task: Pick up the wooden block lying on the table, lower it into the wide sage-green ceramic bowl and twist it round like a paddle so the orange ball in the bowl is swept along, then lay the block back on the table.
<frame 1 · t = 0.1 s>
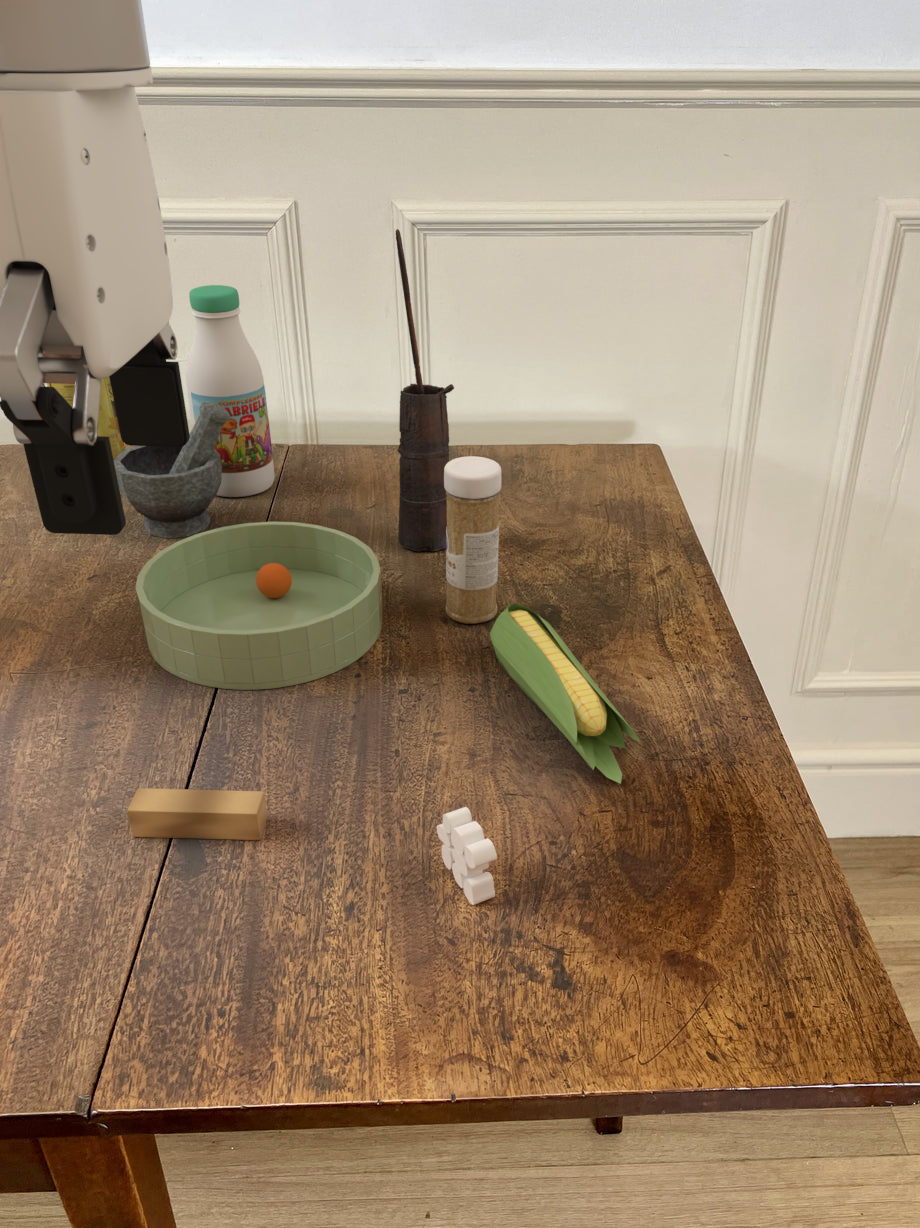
hand: (124, 483, 47), 26 cm above the table, tool pointing down, fingers open, 9 cm apart
wooden block: (201, 827, 66), on the table
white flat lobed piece: (466, 881, 63), on the table
butter churn: (436, 541, 101), on the table
mortar and pestle: (185, 525, 102), on the table
spice jar: (471, 615, 89), on the table
edible corn: (557, 711, 78), on the table
sauce bottle: (98, 471, 113), on the table
ball: (273, 580, 89), point 2 cm above the table, touching bowl
bowl: (266, 625, 87), on the table
milk bottle: (238, 486, 111), on the table
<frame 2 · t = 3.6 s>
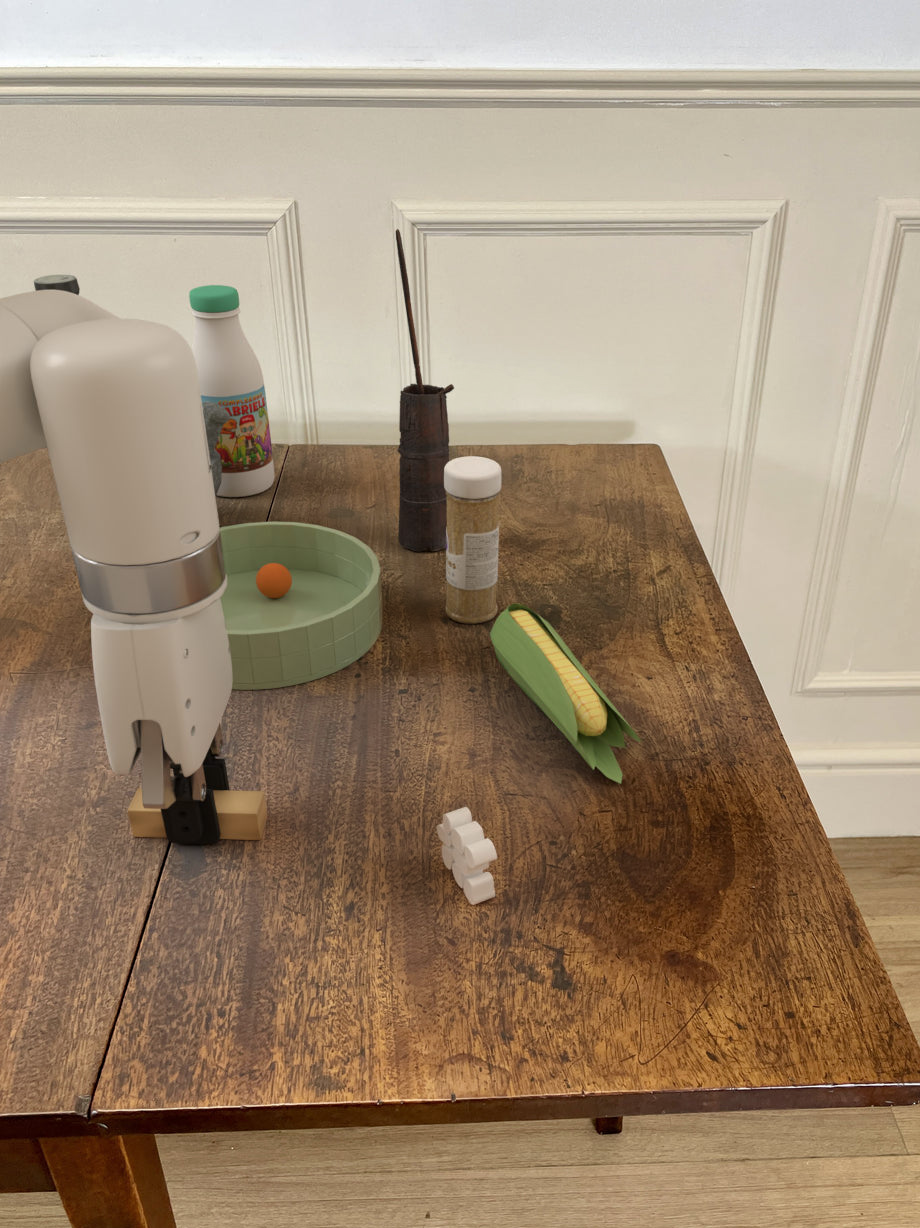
hand: (200, 822, 66), 0 cm above the table, tool pointing down, fingers closed on wooden block, 2 cm apart
wooden block: (201, 827, 66), on the table, touching gripper
everything else where it was.
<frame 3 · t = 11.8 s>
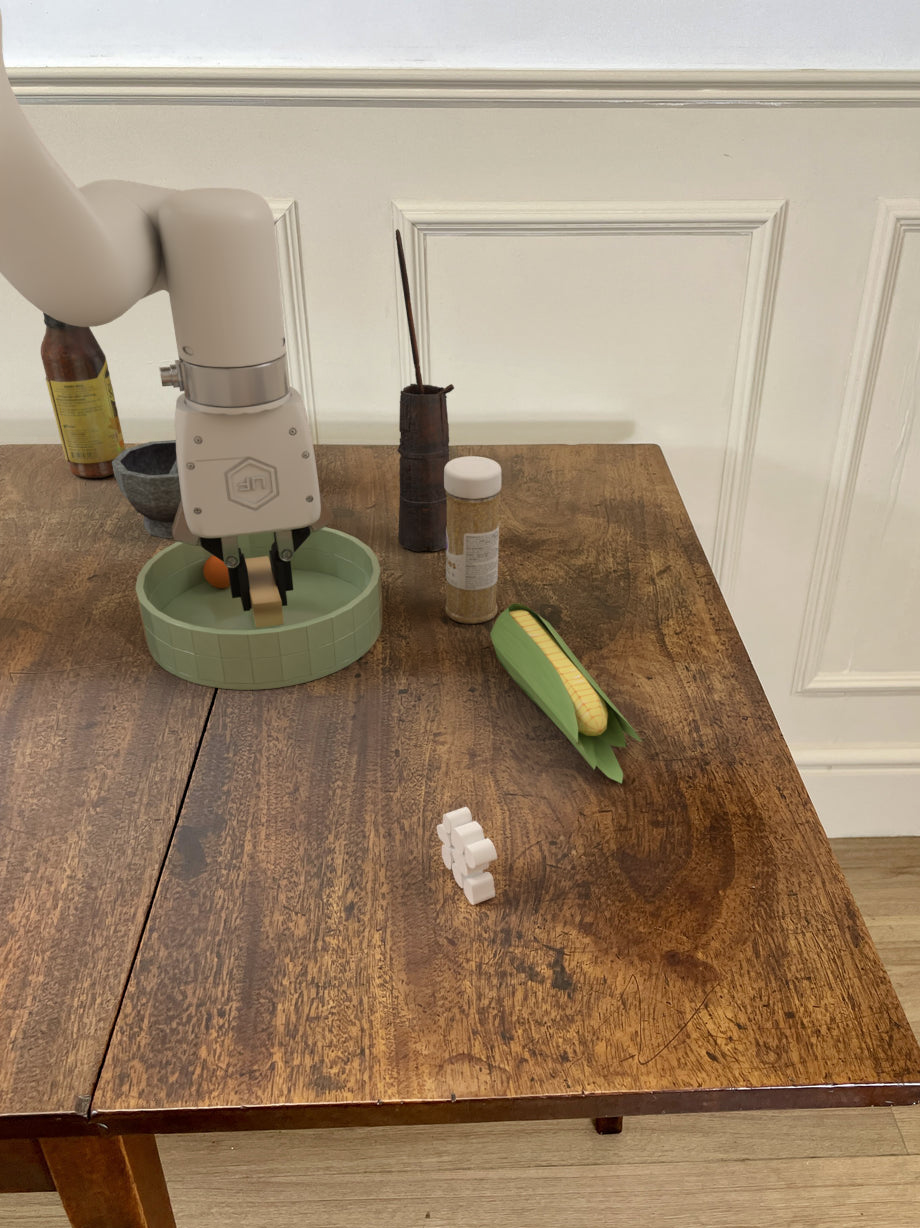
hand: (263, 599, 85), 3 cm above the table, tool pointing down, fingers closed on wooden block, 2 cm apart
wooden block: (263, 602, 85), point 2 cm above the table, touching gripper
ball: (221, 570, 90), point 2 cm above the table, tilted 159°, touching bowl
everything else where it was.
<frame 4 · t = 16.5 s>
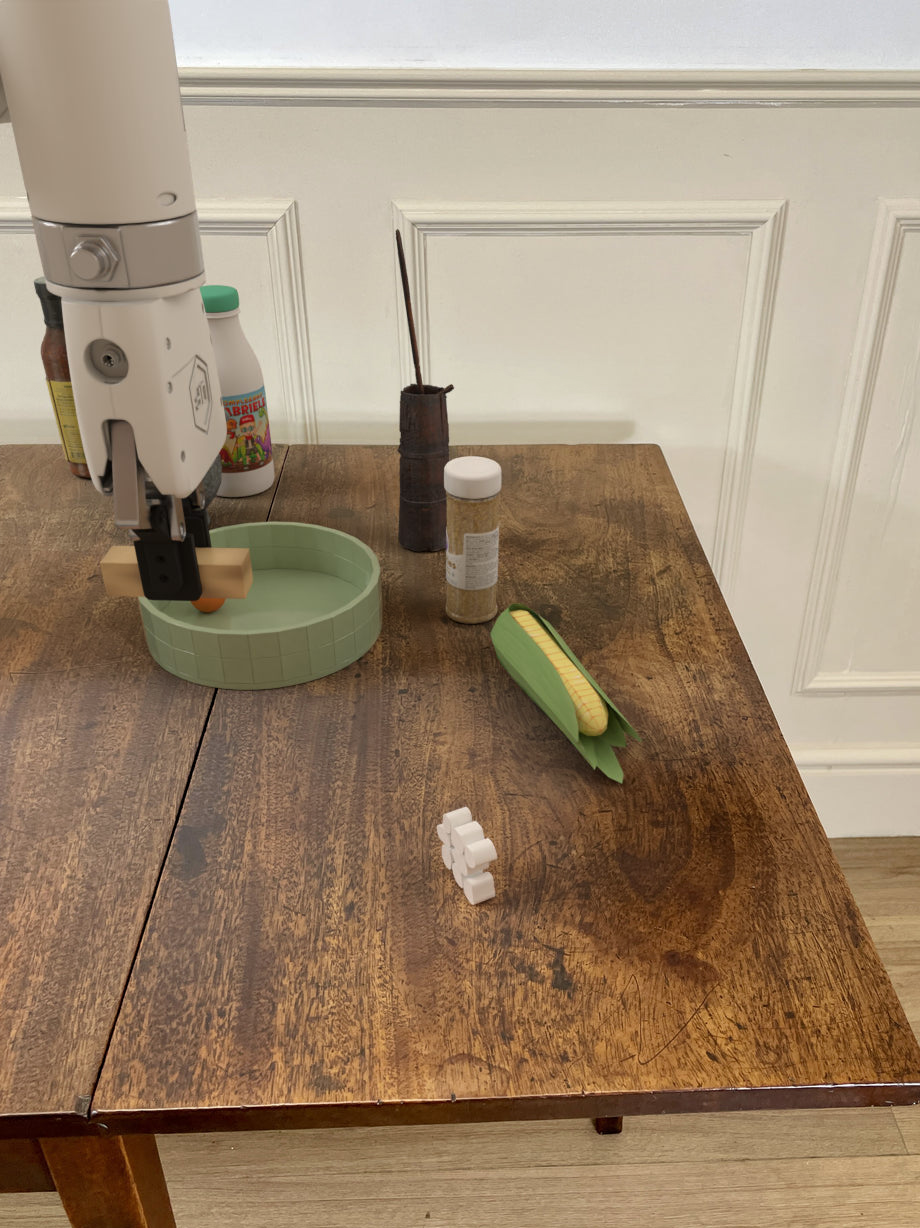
hand: (180, 583, 61), 15 cm above the table, tool pointing down, fingers closed on wooden block
wooden block: (181, 588, 61), point 15 cm above the table, touching gripper
ball: (207, 594, 87), point 2 cm above the table, tilted 20°, touching bowl
everything else where it was.
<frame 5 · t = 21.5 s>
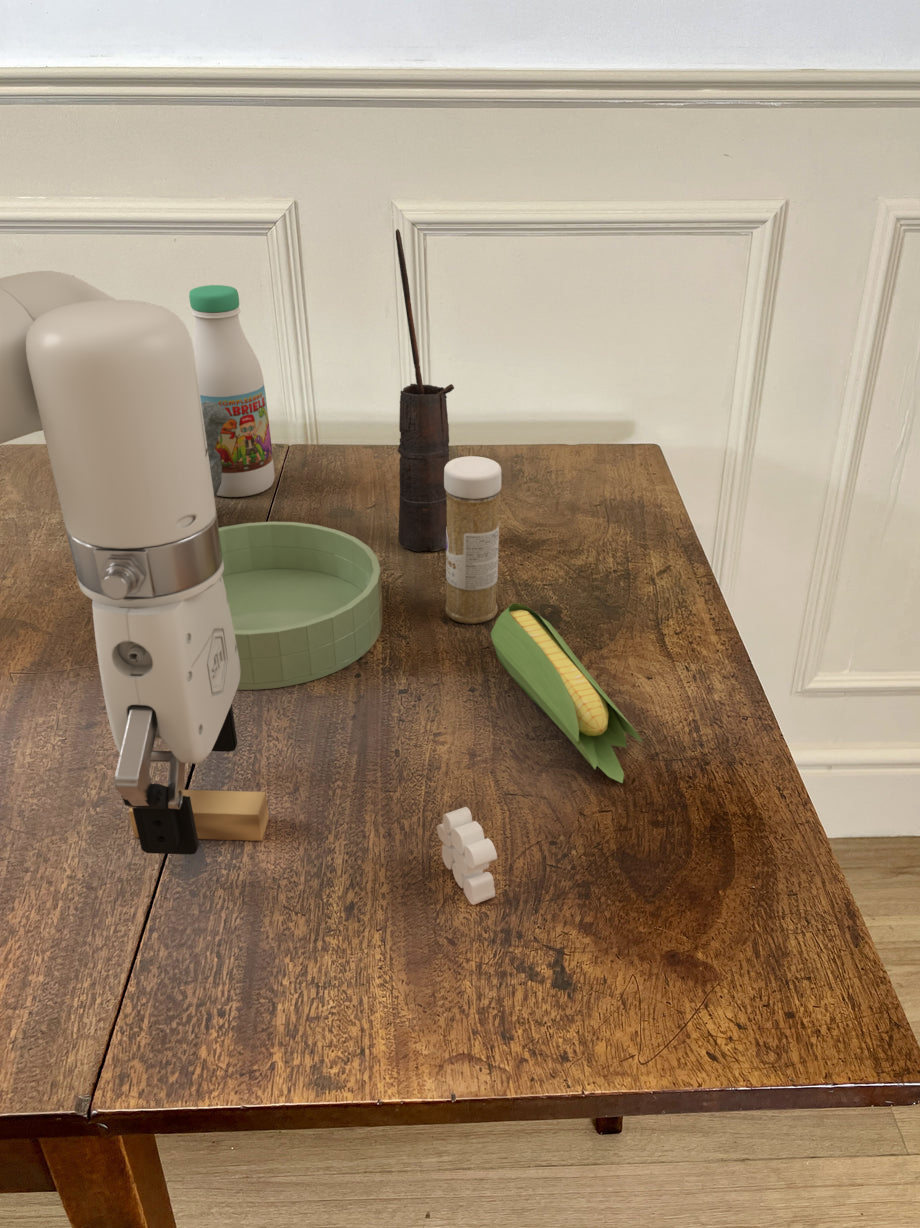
hand: (193, 796, 65), 2 cm above the table, tool pointing down, fingers open, 9 cm apart
wooden block: (202, 827, 66), on the table
ball: (191, 621, 83), point 2 cm above the table, tilted 154°, touching bowl
everything else where it was.
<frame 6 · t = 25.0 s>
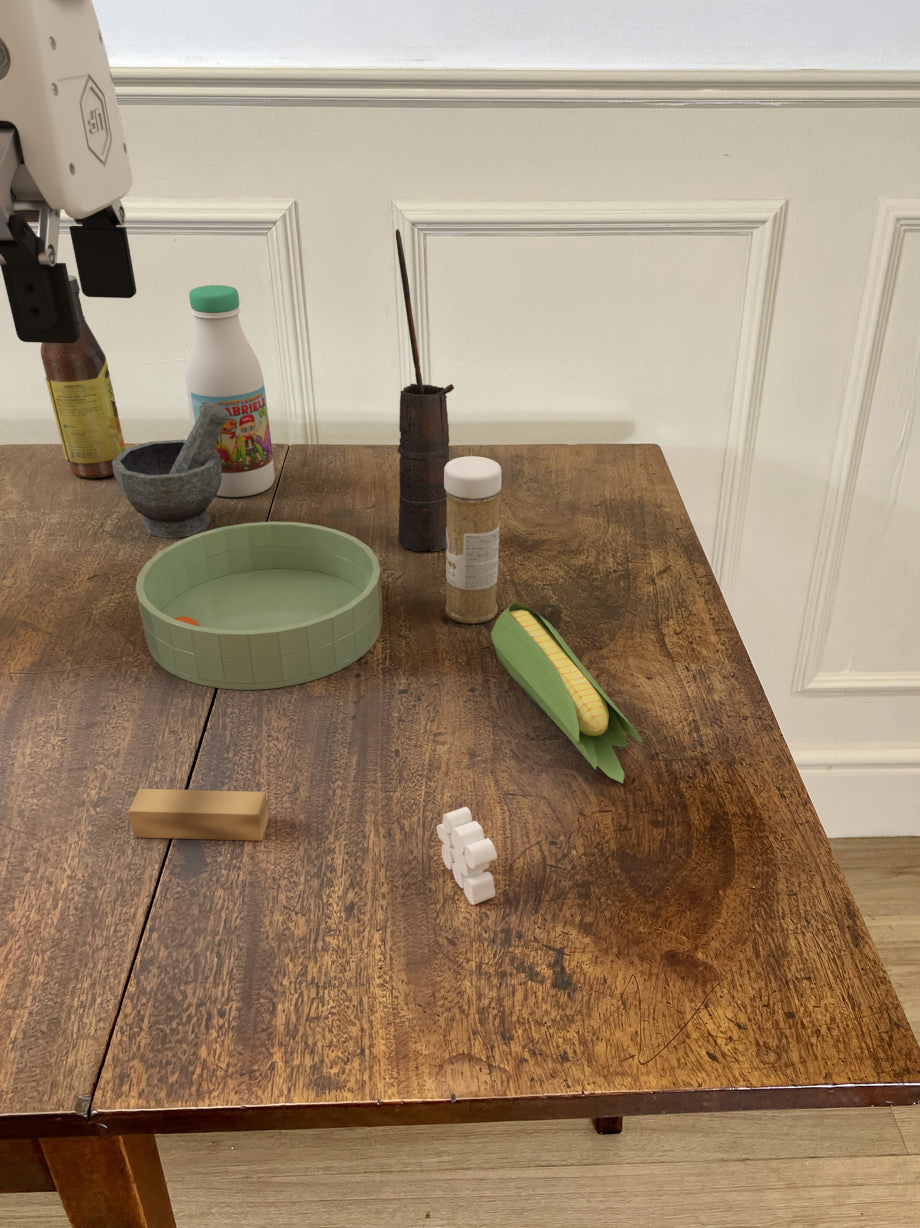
hand: (82, 317, 60), 28 cm above the table, tool pointing down, fingers open, 9 cm apart
ball: (183, 635, 81), point 2 cm above the table, tilted 113°, touching bowl
everything else where it was.
at the end: ball moved 10.7 cm from its start; ball inside the target area in the bowl (7.4 cm from its centre), point 2.1 cm above the bowl's base; wooden block inside the target area (0.4 cm from its centre), on the table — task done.
